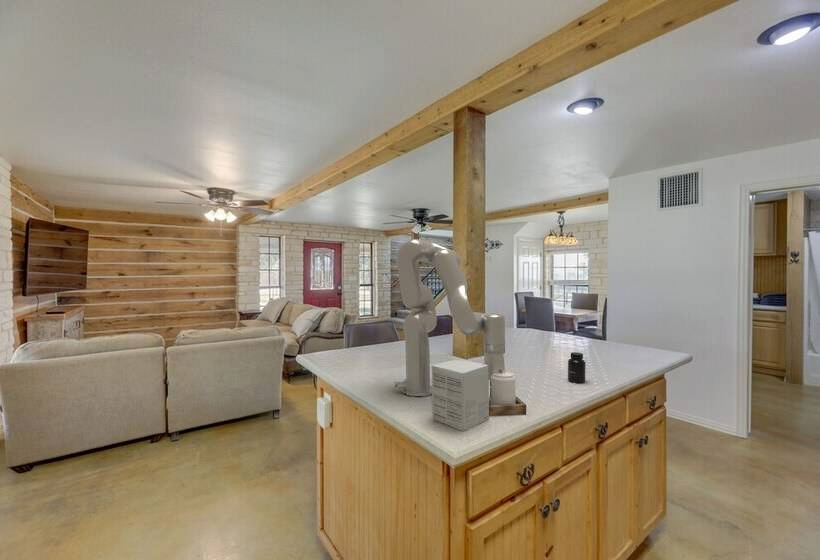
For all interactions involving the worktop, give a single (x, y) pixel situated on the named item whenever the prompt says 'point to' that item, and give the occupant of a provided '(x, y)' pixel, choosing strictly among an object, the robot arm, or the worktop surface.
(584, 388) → the worktop surface
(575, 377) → the supplement bottle
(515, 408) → the bay
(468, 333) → the robot arm
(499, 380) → the white lidded jar
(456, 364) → the supplement box
